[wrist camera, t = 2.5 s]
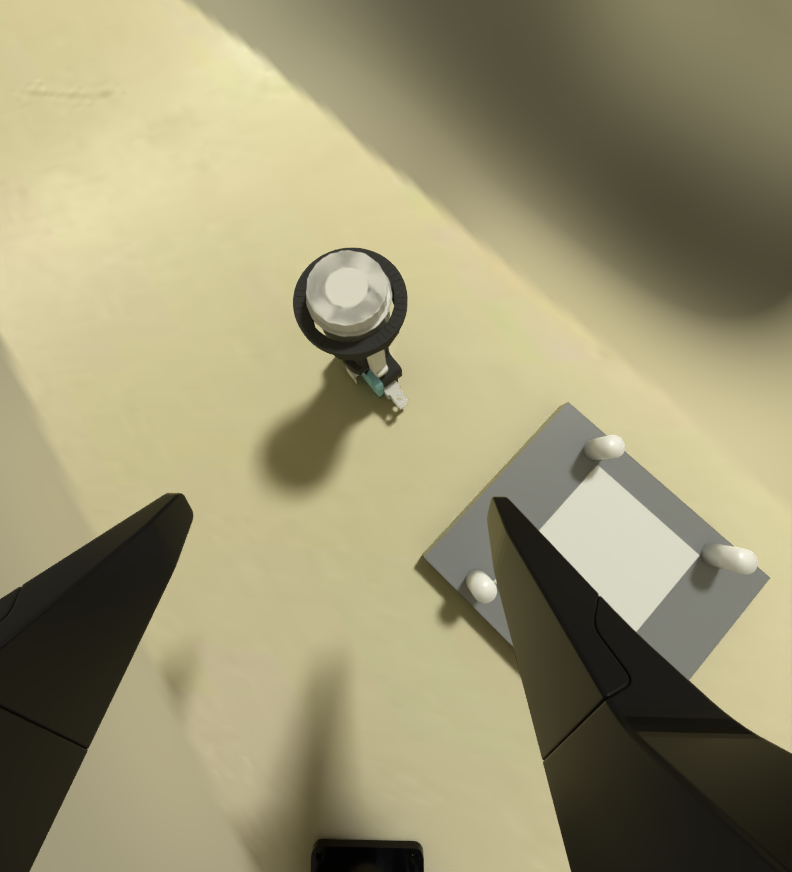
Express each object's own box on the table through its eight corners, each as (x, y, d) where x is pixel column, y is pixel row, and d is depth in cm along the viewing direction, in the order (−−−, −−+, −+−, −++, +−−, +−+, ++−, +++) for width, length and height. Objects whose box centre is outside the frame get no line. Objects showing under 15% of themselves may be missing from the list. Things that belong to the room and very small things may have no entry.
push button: (432, 386, 24) (452, 318, 15) (373, 432, 24) (352, 393, 14) (375, 318, 25) (358, 210, 15) (318, 361, 25) (261, 278, 15)
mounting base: (613, 744, 21) (650, 790, 18) (422, 553, 23) (426, 564, 20) (750, 572, 22) (808, 587, 19) (560, 406, 24) (583, 393, 21)
